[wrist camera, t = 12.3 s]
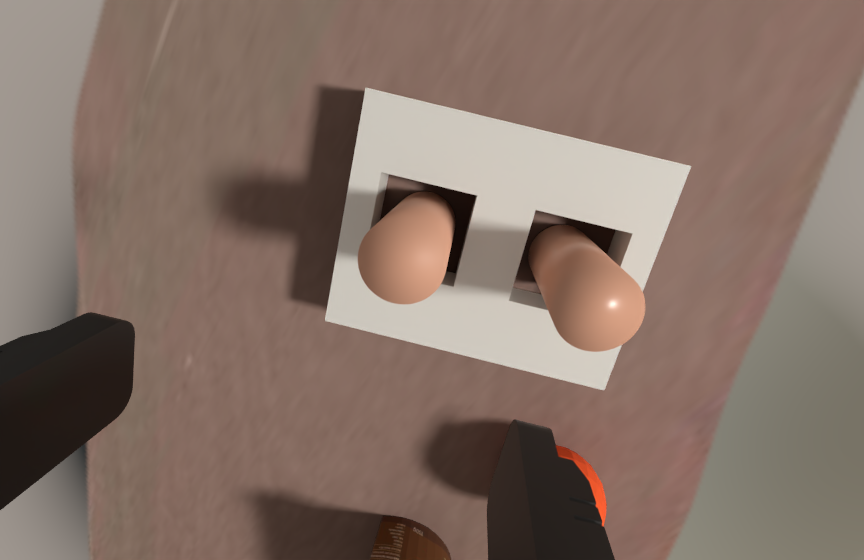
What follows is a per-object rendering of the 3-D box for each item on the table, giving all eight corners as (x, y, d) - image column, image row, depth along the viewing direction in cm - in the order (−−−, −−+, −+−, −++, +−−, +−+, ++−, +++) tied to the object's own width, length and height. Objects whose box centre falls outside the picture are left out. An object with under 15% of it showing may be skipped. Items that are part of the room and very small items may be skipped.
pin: (400, 184, 30) (366, 207, 21) (462, 199, 30) (456, 229, 21) (388, 244, 31) (350, 292, 22) (447, 259, 31) (435, 313, 22)
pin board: (376, 92, 29) (327, 71, 19) (669, 163, 29) (767, 177, 19) (337, 304, 33) (282, 373, 23) (593, 368, 33) (641, 464, 23)
